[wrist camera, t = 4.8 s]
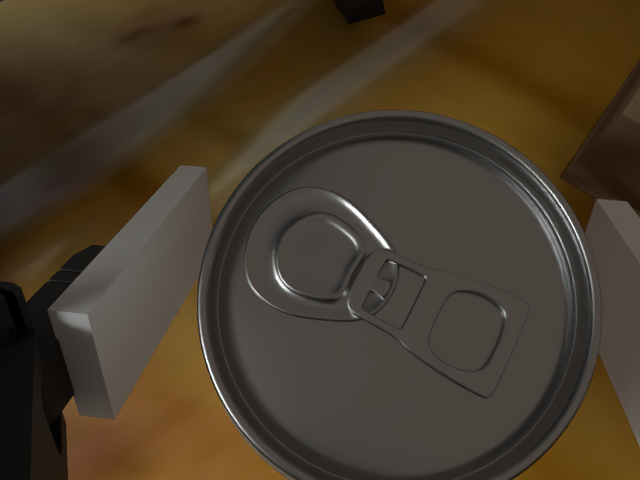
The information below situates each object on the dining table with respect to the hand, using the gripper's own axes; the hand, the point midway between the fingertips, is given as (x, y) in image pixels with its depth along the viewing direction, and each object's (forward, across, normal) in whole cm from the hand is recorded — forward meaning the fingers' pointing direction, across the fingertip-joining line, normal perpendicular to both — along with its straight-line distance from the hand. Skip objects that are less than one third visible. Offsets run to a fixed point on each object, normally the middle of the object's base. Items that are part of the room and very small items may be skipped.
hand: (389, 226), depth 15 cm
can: (+2, 0, -6) cm, 6 cm away
